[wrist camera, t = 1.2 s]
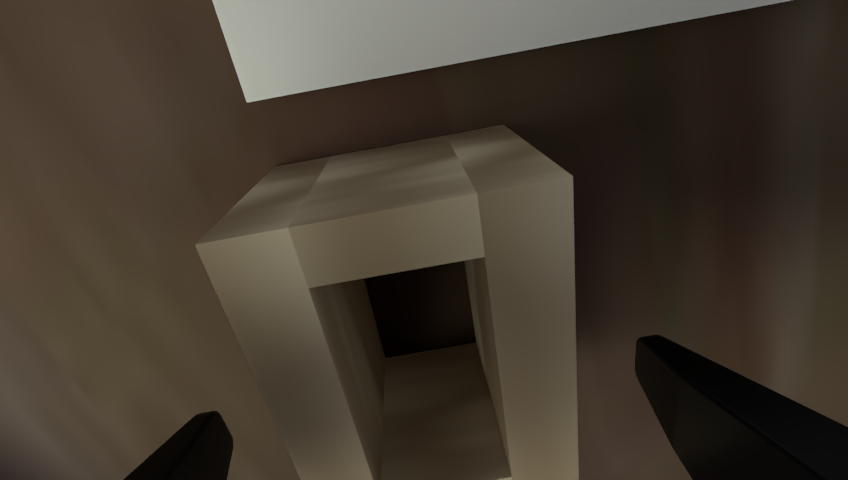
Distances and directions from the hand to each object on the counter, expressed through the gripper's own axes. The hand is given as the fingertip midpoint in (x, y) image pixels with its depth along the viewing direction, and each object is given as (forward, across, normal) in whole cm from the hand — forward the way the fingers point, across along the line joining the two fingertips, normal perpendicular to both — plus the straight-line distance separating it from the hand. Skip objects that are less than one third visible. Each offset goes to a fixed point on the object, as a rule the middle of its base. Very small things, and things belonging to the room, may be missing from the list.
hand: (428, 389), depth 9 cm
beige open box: (+5, 0, 0) cm, 5 cm away
